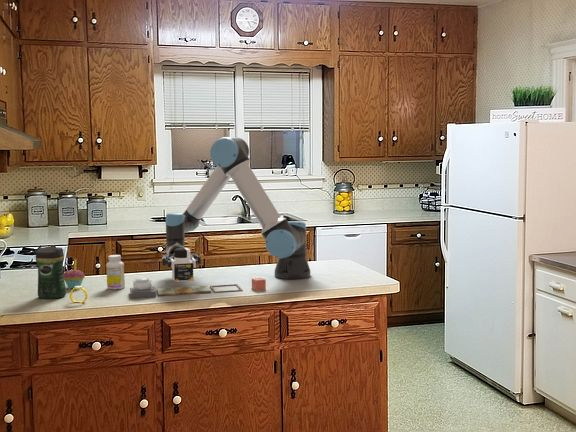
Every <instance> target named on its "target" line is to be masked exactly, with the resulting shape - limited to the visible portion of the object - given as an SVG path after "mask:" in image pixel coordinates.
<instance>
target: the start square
mask: <svg viewBox="0 0 576 432" xmlns="http://www.w3.org/2000/svg"><path fill="white" fill-rule="evenodd" d="M231 286H232V287H233V286H236V287H237V288H238V289H232V290H231V289H230V290H215V289H214V288H218V287H219V288H220V287H231ZM209 287H210V290H212V292H213V293H214V294H216V293H218V294H219V293H231V292H233V293H234V292H243V288H241V286H240V285H239V284H238V283H234V284H232V283H231V284H217V285H210V286H209Z"/></svg>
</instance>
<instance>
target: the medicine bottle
mask: <svg viewBox="0 0 576 432" xmlns="http://www.w3.org/2000/svg"><path fill="white" fill-rule="evenodd" d="M190 255H191V248H188V247H185V248H177V249H175V250H174V259H175V260H174V269H172V268H171V270H172V271H171V273H172V276H171V277H172V280H173V281H174V282H176V283H179V282H192V281H194V267H193V262H192V261H191V257H190Z"/></svg>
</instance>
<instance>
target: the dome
mask: <svg viewBox="0 0 576 432" xmlns="http://www.w3.org/2000/svg"><path fill="white" fill-rule="evenodd" d="M132 282H133V283H132V285H133V287H132V288H134V289H136V290H145V289H150V288H152V287H153V286H152V285H153V283H152V280H151V279H150V278H149V277H137V278H134V280H133V281H132Z"/></svg>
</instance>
